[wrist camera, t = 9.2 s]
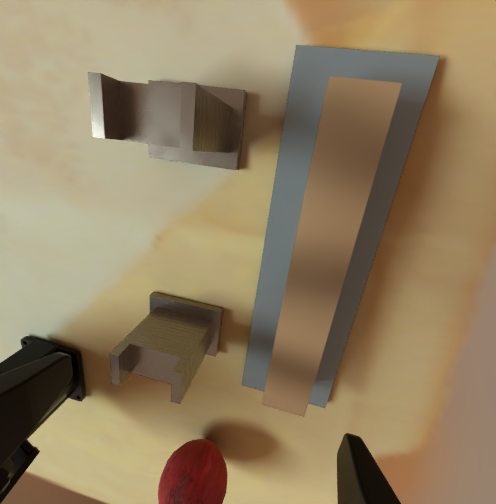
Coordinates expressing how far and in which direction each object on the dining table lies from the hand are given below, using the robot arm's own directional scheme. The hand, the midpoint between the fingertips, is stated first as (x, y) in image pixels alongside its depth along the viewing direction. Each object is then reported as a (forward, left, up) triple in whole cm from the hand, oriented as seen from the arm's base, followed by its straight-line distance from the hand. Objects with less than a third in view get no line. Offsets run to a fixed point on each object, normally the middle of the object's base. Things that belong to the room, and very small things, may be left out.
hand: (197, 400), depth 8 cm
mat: (+1, -4, -12) cm, 12 cm away
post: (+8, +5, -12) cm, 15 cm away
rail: (+1, -4, -11) cm, 12 cm away
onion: (-20, +2, -12) cm, 24 cm away
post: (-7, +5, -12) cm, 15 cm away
